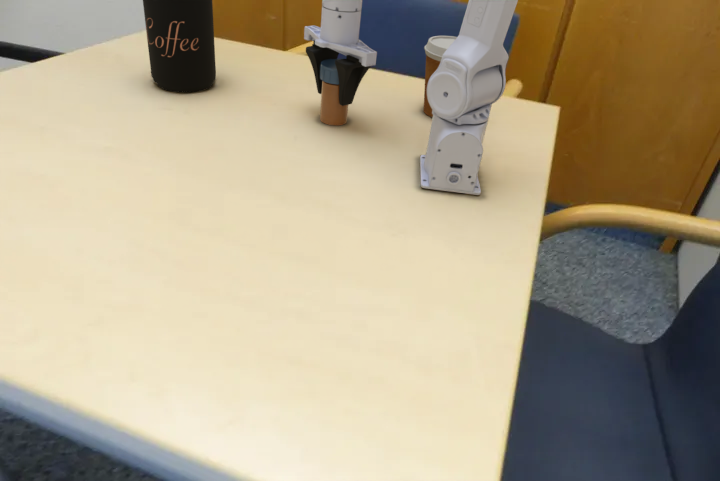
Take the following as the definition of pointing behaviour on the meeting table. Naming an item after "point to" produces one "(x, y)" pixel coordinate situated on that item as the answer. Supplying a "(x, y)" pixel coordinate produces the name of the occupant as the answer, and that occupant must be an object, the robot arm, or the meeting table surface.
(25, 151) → the meeting table surface
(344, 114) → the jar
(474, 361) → the meeting table surface
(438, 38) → the disposable coffee cup
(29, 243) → the meeting table surface
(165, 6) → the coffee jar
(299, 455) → the meeting table surface
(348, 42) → the robot arm
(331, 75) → the lid
